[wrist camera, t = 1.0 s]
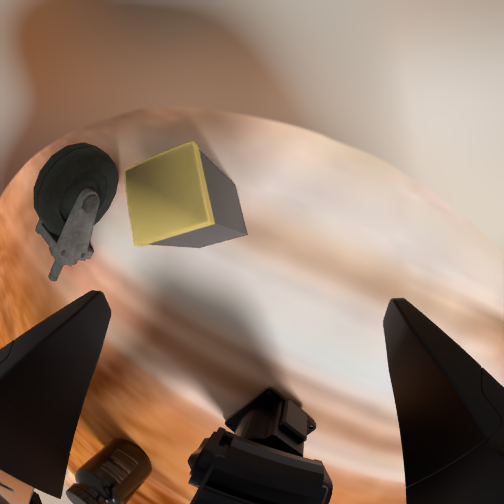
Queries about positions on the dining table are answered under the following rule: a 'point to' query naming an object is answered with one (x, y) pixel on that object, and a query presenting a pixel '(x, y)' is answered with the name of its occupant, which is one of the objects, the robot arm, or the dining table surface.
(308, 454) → the dining table surface
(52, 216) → the caster wheel
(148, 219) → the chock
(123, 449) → the supplement bottle
